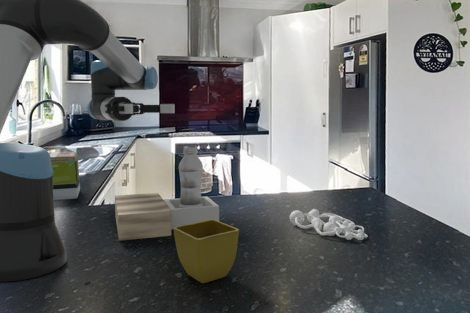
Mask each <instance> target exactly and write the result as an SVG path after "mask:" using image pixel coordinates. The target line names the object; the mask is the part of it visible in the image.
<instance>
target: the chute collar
mask: <svg viewBox="0 0 470 313" xmlns="http://www.w3.org/2000/svg"><path fill="white" fill-rule="evenodd" d="M163 200H164V202H165V203H166V205H167V206H168V207H169V209H170V210H171V231H173V228H174V227H177V226H182V225H187V224H193V223H197V222H202V221H206V220H212V219H213V220H217V221H219V222H220V206H219V204H217V203H216V202H215V201H213V200H212V199H211V198H210V197H208V195H207V196H206V195H205V196H201V203H202V206H200V207H187V208H179V205H180V197H179V198H169V199H168V198H165V199H164V198H163Z"/></svg>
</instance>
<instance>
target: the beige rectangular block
mask: <svg viewBox="0 0 470 313" xmlns="http://www.w3.org/2000/svg"><path fill="white" fill-rule="evenodd" d="M114 207H115V208H114V212H115V221H116V228H117V229H116V230H117V237H118V241H119V242H120V241H129V240H130V241H131V240H138V239H139V240H141V239H148V238H159V237H170V236H172V230H171V210H170V209H169V207H168V206H167V205H166V203H165V202H164V198H162V196H161V194H160V193H159V192H150V193H149V192H147V193H138V194H137V193H134V194H123V195H122V194H120V195H119V194H118V195H114Z"/></svg>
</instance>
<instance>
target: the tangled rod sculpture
mask: <svg viewBox="0 0 470 313" xmlns="http://www.w3.org/2000/svg"><path fill="white" fill-rule="evenodd" d="M305 217H306V219H307V221H308V222H310V223H311V224H308V225H303V223H304V221H305ZM321 218H329V219H328V222H324V221H323V220H322V219H321ZM289 221H290V222H291V224H293V225H294V226H297V227H298V228H301V229H307V230H308V229H310V228H313V229H314V230H315V231H316V232H317V234H319V235H320V236H329V237H332V236H333V237H334V236H335V235H336V236H337V237H339V238H345V239H346V240H347V241H350V240H352V239H354V238H355V239H356V240H358V241H363V240H364V238H365V239H366V238H368V234H366V233H365V228H364V226H362V225H357V224H355V222H354V221H351V219H347V218H344V217H343V216H340V215H338V214H335V213H332V212H324V213H321V214H320V211H319V210H318V209H316V208H312V209H311V210H310V211H309V212H307V213H306V212H305V213H304V212H302V211H301V210H297V209H296V210H293V211H292V212H291V213H290V214H289ZM356 228H359V229H358V230H357V229H356ZM321 230H323V232H322V231H321ZM340 234H342V235H340Z"/></svg>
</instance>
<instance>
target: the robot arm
mask: <svg viewBox="0 0 470 313" xmlns="http://www.w3.org/2000/svg"><path fill="white" fill-rule="evenodd" d="M62 44H63V45H64V44H65V45H73V46H77V47H78V48H80V49H81V50H83V51H85V52H86V51H87V52H89V53H92V54H93V55H94V56H95V57H96V58H97V59H99V60H94V61H91V63H90V74H89V75H90V86H91V88H90V89H91V96H90V97H91V99H90V100H89V102H88V103H87V106H86V108H87V110H86V111H87V113H88V115H89V116H90V117H91V118H93V119H94V120H98V121H112V123H116V121H118V122H124V121H128V120H129V119H130V118H132V116H136V115H144V114H145V113H147V114H153V113H154V114H155V113H157V114H158V113H159V114H175V111H176V110H175V108H176V107H175V103H165V102H163V101H162V102H161V103H160V104H144V103H143V102H141V103H140V102H137V103H136V102H133V101H132V100H130V99H129V98H128V97H126V96H116V91H147V90H154V89H156V88H157V86H158V80H159V79H158V71H157V69H156V68H155V67H154V66H149V65H145V66H144V65H142V63H141V62H140V61H139V60H138V59H137V58H136V57H135V56H134V55H133V54H132V53H131V52H130V51H129V49H127V47H126V46H125V45H124V44H123V43H122V42H121V41H120V40H119V39H118V38H117V36H115V34H114V33H113V32H112V31H111V28H110V24H109V23H108V21H107V20H106V19H105V18H104V17H103V16H102V15H101V14H100V13H99V12H98V11H97V10H95V9H94V8H93V7H92V6H90V5H88V4H87V3H85V2H83V1H81V0H0V135H1V133H2V131H3V128H4V126H5V124H6V121H7V118H8V116H9V113H10V111H11V109H12V106H13V104H14V101H15V100H16V96H17V94H18V91H19V89H20V86H21V84H22V82H23V80H24V77H25V76H26V72H27V70H28V68H29V65H30V63H31V61H35V60H38V59H39V58H40V56H41V54H42V53H43V50H44V47H45V46H47V45H62ZM49 153H50V152H49V151H48V150H47V149H45V148H43V147H41V146H38V145H31V144H25V143H18V142H17V143H12V142H11V143H10V142H0V282H1V283H2V282H3V283H4V282H5V283H6V282H16V281H24V280H29V279H34V278H38V277H41V276H45V275H47V274H50V273H52V272H55V271H57V270H58V269H60V268H61V267H63V266H65V264H66V263H67V261H68V260H67V259H68V257H67V248H66V246H65V243H64V241H63V239H62V237H61V234H60V232H59V229H58V227H57V225H56V219H55V200H54V194H53V169H52V164H51V157H50V154H49Z"/></svg>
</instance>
